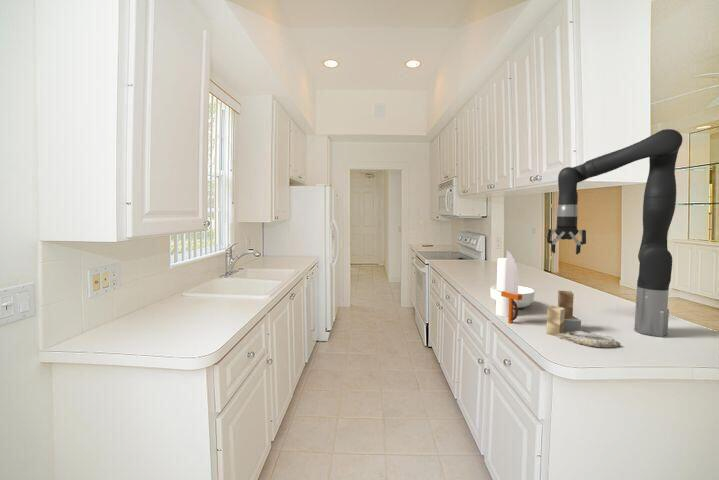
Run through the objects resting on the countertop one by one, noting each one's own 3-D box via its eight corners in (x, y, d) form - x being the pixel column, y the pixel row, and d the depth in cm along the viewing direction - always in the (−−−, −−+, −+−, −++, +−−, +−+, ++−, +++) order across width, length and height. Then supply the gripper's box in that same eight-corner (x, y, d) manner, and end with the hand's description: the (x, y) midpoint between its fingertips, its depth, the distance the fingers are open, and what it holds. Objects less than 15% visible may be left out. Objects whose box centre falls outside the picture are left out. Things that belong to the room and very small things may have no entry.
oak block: (563, 334, 132) (564, 308, 132) (559, 337, 129) (560, 310, 129) (550, 331, 136) (551, 305, 135) (546, 333, 133) (547, 307, 132)
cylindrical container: (514, 317, 154) (516, 260, 151) (497, 316, 155) (499, 260, 153) (511, 312, 160) (513, 258, 158) (494, 311, 162) (496, 257, 160)
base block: (570, 326, 142) (570, 314, 141) (580, 333, 134) (581, 320, 133) (549, 326, 142) (549, 314, 142) (558, 332, 134) (559, 320, 134)
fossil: (557, 342, 126) (558, 334, 125) (561, 333, 133) (561, 325, 133) (620, 355, 115) (620, 346, 115) (620, 344, 123) (621, 336, 122)
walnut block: (570, 316, 139) (571, 291, 138) (572, 319, 135) (573, 293, 134) (557, 315, 141) (558, 290, 140) (559, 318, 136) (560, 292, 136)
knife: (500, 320, 149) (502, 250, 147) (504, 319, 150) (506, 249, 148) (516, 325, 142) (519, 252, 139) (521, 325, 143) (523, 251, 141)
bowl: (543, 310, 165) (544, 292, 164) (506, 313, 160) (507, 294, 159) (515, 299, 184) (516, 284, 183) (482, 302, 179) (482, 285, 178)
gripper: (548, 215, 148) (547, 253, 149) (588, 215, 142) (586, 255, 143) (547, 215, 155) (545, 252, 156) (585, 215, 149) (583, 253, 150)
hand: (565, 253), depth 150 cm, fingers open, 8 cm apart
